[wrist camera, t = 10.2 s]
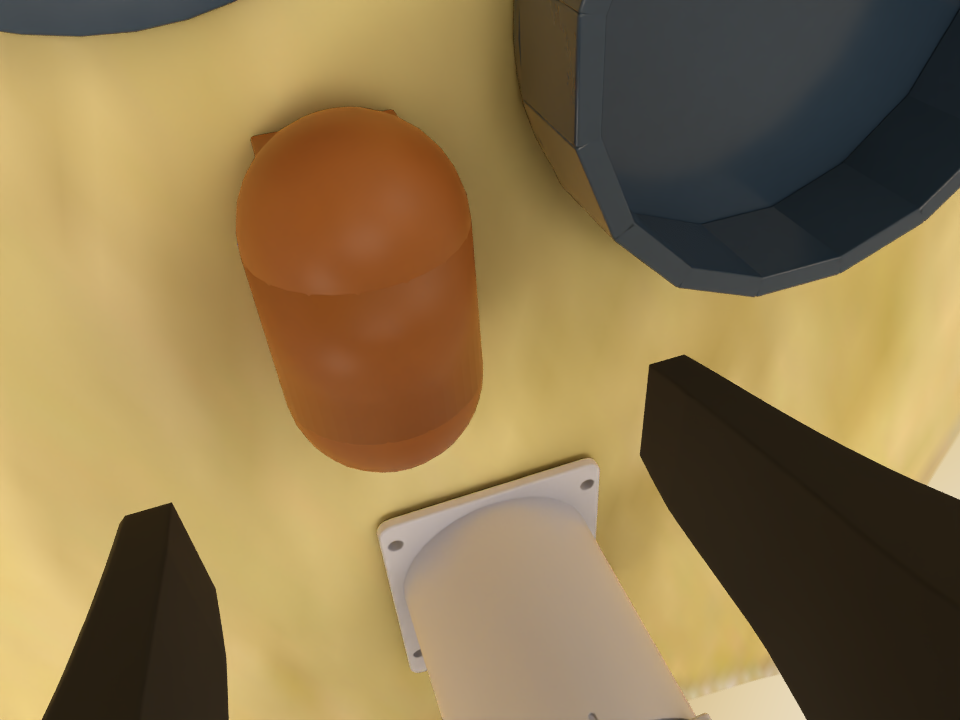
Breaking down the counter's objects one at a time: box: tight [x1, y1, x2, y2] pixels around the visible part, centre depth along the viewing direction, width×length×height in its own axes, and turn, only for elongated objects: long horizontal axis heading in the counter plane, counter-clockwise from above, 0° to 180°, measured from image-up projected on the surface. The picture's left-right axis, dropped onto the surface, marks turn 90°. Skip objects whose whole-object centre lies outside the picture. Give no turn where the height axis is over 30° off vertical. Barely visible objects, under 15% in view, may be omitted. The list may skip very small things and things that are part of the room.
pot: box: [513, 0, 960, 297], centre depth 17 cm, size 13×13×3 cm
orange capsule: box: [236, 107, 483, 472], centre depth 17 cm, size 9×5×5 cm, turn 4°
